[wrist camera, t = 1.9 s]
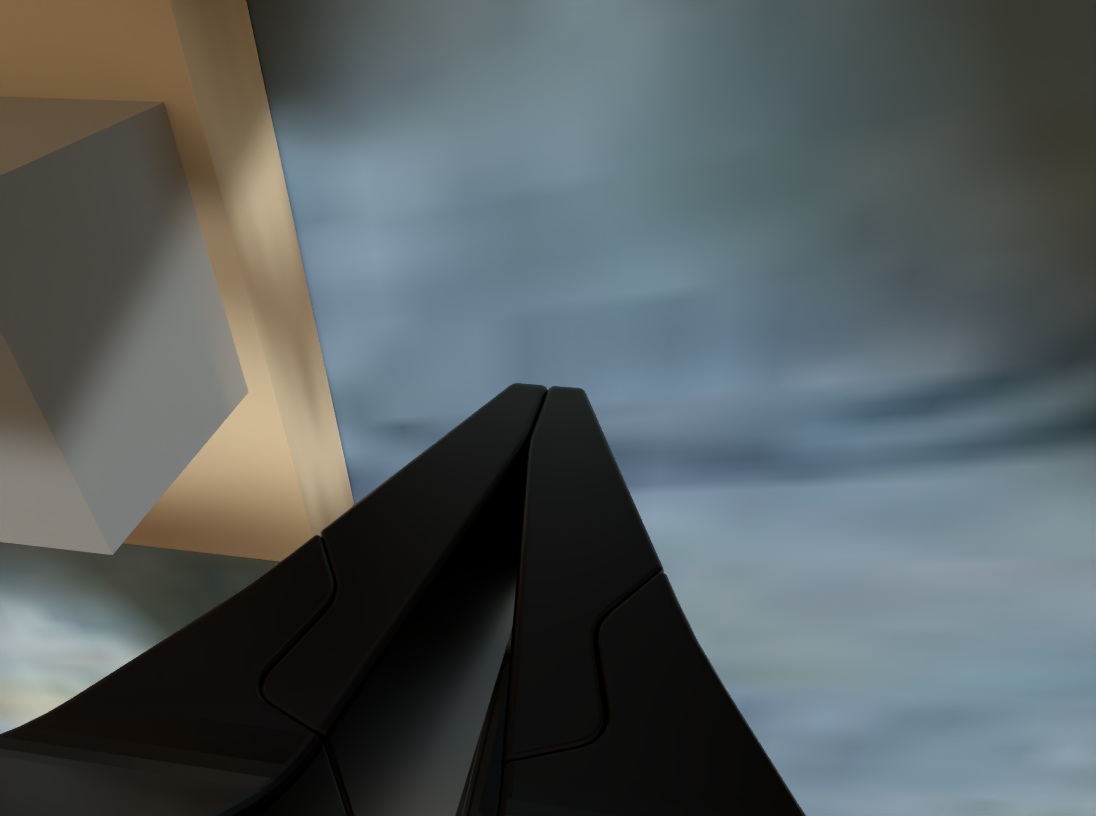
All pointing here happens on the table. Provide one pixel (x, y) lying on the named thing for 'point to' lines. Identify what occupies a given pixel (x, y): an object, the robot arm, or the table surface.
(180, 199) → the grey square block
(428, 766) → the robot arm
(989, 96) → the table surface
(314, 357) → the bench board
